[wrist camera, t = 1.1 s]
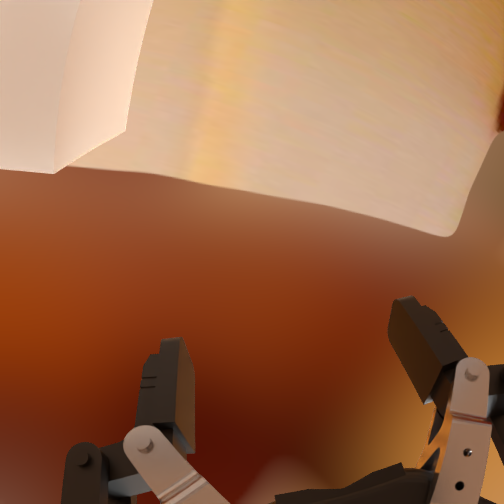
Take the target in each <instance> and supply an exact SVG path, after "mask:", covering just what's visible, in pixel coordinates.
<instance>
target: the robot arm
mask: <svg viewBox="0 0 504 504" xmlns="http://www.w3.org/2000/svg"><path fill="white" fill-rule="evenodd" d="M388 337H389V341H390V343H391V345H392V347H393V348H394V350H395V352H396V354H397V356H398V357H399V359H400V361H401V363H402V365H403V367H404V368H405V370H406V372H407V374H408V376H409V378H410V379H411V381H412V383H413V385H414V387H415V389H416V391H417V393H418V395H419V397H420V399H421V400H422V402H423V404H427V403H429V402H432V401H434V403H435V405H436V406H435V408H434V411H433V416H432V419H431V424H430V428H429V431H428V435H427V439H426V443H425V446H424V449H423V452H422V454H421V456H420V458H419V460H418V462H417V464H416V467H415V468H403V466H402V463H398V464H395V465H392V466H390V467H387V468H384V469H381V470H378V471H375V472H372V473H370V474H369V475H367V476H365V477H364V478H362V479H360V480H358V481H356V482H355V483H353V484H351V485H349V486H347V487H345V488H342V489H307V490H301V491H297V492H291V493H285V494H279V495H275V500H276V501H274V502H271V503H269V504H496V503H494V502H492V501H489V500H487V499H484V498H483V497H481V496H480V492H481V488H482V484H483V479H484V474H485V469H486V463H487V458H488V451H489V445H490V438H492V440H493V442H494V444H495V447H496V449H497V451H498V453H499V456H500V458H501V460H502V463H503V465H504V364H501V365H490V366H486V364H485V363H484V362H482V361H481V360H479V359H477V358H472V357H468V356H467V355H466V353H465V352H464V350H463V349H462V348H461V346H460V345H459V343H458V342H457V340H456V339H455V338H454V336H453V335H452V333H451V332H450V331H448V328H447V327H446V325H445V324H444V323H443V321H442V320H441V319H440V317H439V316H438V315H437V313H436V312H435V311H433V310H431V309H430V308H429V307H427V306H426V305H425V306H421V305H420V304H419V302H418V301H417V300H416V298H415V297H414V296H408V297H404V298H399V299H396V300H394V301H393V304H392V310H391V315H390V319H389V324H388ZM140 388H141V389H140V392H139V398H138V406H137V413H136V422H135V426H134V429H132V430H131V431H130V432H129V433H128V434H127V435H126V437H125V439H124V440H122V441H121V442H118V443H115V444H112V445H108V446H105V447H101V448H98V447H97V446H95V445H94V444H92V443H89V442H82V443H79V444H76V445H75V446H73V447H72V448H71V449H70V450H69V452H68V454H67V457H66V463H65V470H64V479H63V488H62V499H61V504H137V494H141V493H144V492H148V491H151V490H152V491H153V492H154V493H155V494H156V496H157V497H158V498H159V500H160V503H161V504H230V503H229V502H228V501H227V500H226V499H224V497H222V496H221V495H220V494H219V493H218V492H217V491H216V490H215V489H214V488H213V487H212V486H211V485H210V484H209V483H208V482H207V481H206V480H205V479H204V478H203V477H202V476H201V475H200V474H198V473H197V472H196V471H195V470H194V469H193V468H192V467H191V466H190V464H188V462H187V461H186V454H187V453H195V374H194V368H193V364H192V361H191V358H190V356H189V353H188V350H187V348H186V346H185V343H184V340H183V338H182V337H179V338H169V339H162V340H161V345H160V352H159V354H151V355H150V356H149V358H148V359H147V361H146V363H145V364H144V366H143V372H142V380H141V385H140Z"/></svg>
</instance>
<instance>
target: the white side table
mask: <svg viewBox="0 0 504 504" xmlns="http://www.w3.org/2000/svg"><path fill="white" fill-rule="evenodd" d="M153 1H154V0H0V169H6V170H18V171H29V172H39V173H50V174H54V173H56V172H57V171H59V170H61V169H62V168H64V167H65V166H67V165H68V164H70V163H71V162H73V161H75V160H76V159H78V158H79V157H81V156H83V155H84V154H86V153H88V152H89V151H91V150H93V149H94V148H96V147H98V146H100V145H101V144H103V143H105V142H107V141H108V140H110V139H112V138H114V137H116V136H117V135H119V134H121V133H123V132H125V130H126V123H127V117H128V111H129V105H130V99H131V93H132V88H133V83H134V78H135V73H136V68H137V63H138V59H139V54H140V50H141V46H142V42H143V37H144V33H145V30H146V26H147V22H148V18H149V15H150V11H151V8H152V4H153Z"/></svg>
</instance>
